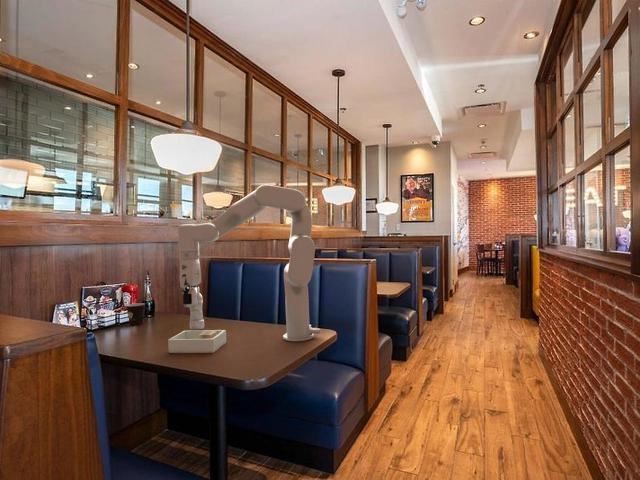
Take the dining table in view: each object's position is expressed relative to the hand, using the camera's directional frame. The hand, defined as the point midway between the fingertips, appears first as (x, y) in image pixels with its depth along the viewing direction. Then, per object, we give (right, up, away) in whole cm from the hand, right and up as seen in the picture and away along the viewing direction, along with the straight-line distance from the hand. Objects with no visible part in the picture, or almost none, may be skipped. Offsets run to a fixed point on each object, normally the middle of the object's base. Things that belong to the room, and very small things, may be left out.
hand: (190, 302), depth 152 cm
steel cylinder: (0, -1, 0) cm, 1 cm away
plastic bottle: (-7, -18, +30) cm, 35 cm away
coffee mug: (-42, -19, +46) cm, 66 cm away
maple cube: (+7, -17, +1) cm, 18 cm away
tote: (+3, -18, +1) cm, 18 cm away
